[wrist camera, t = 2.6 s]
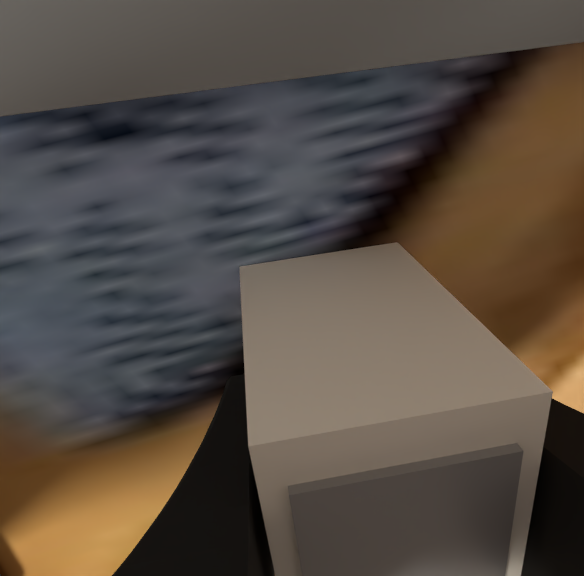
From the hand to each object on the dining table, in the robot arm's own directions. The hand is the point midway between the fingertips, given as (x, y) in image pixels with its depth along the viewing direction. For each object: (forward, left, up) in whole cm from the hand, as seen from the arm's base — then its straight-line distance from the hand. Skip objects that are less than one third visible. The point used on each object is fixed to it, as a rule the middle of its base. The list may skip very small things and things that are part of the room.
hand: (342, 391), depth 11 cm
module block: (0, 0, -2) cm, 2 cm away
